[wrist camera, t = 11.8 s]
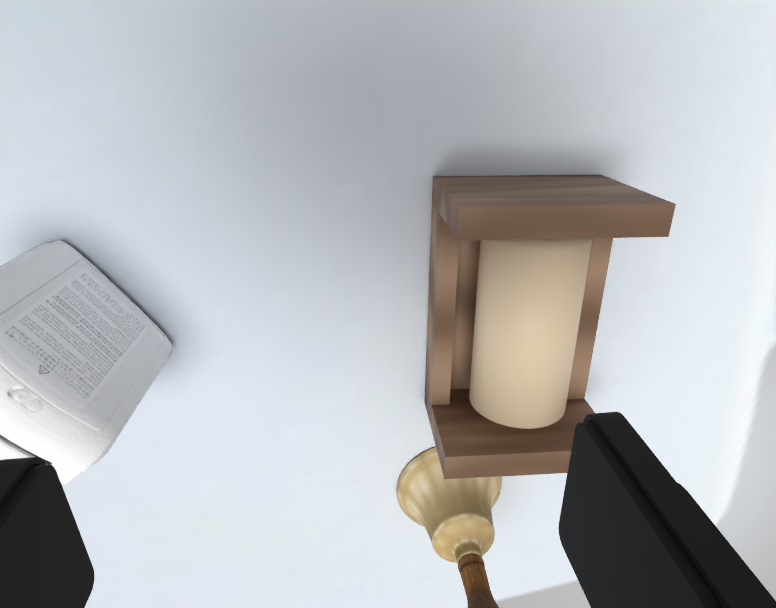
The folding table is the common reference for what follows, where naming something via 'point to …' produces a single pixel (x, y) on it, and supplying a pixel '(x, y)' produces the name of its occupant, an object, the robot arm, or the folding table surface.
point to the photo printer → (69, 359)
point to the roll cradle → (459, 290)
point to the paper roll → (526, 328)
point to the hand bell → (453, 518)
